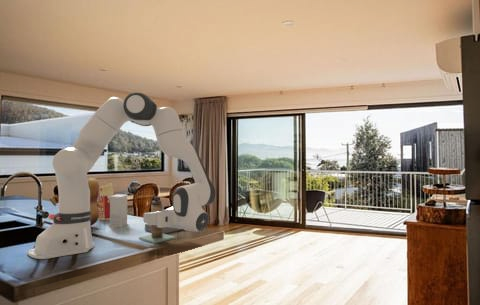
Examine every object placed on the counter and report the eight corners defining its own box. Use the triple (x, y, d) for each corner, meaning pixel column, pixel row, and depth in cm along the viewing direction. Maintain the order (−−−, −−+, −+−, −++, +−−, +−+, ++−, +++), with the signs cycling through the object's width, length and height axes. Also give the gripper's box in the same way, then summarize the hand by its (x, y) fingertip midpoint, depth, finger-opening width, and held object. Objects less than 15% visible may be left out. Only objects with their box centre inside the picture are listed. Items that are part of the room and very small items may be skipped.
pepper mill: (155, 238, 146) (155, 197, 146) (149, 237, 149) (149, 196, 149) (164, 236, 150) (164, 196, 149) (158, 235, 153) (157, 195, 152)
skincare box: (115, 223, 181) (115, 194, 182) (128, 223, 181) (128, 194, 181) (109, 227, 173) (109, 196, 173) (122, 227, 173) (122, 196, 173)
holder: (160, 234, 158) (160, 227, 158) (144, 230, 166) (144, 224, 166) (187, 228, 170) (187, 222, 170) (171, 225, 178) (171, 219, 178)
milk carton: (112, 216, 203) (112, 182, 203) (118, 218, 196) (118, 183, 196) (96, 218, 197) (96, 183, 197) (101, 220, 190) (101, 184, 190)
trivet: (154, 243, 142) (154, 241, 142) (138, 239, 149) (138, 237, 149) (175, 238, 150) (175, 236, 150) (160, 234, 157) (160, 232, 157)
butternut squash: (97, 229, 167) (98, 178, 167) (67, 231, 163) (67, 178, 163) (100, 224, 180) (100, 176, 180) (71, 225, 176) (72, 176, 176)
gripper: (195, 206, 149) (175, 203, 158) (155, 212, 133) (135, 208, 142) (195, 220, 149) (174, 217, 158) (155, 228, 133) (135, 223, 142)
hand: (156, 213), depth 150 cm, fingers open, 5 cm apart
